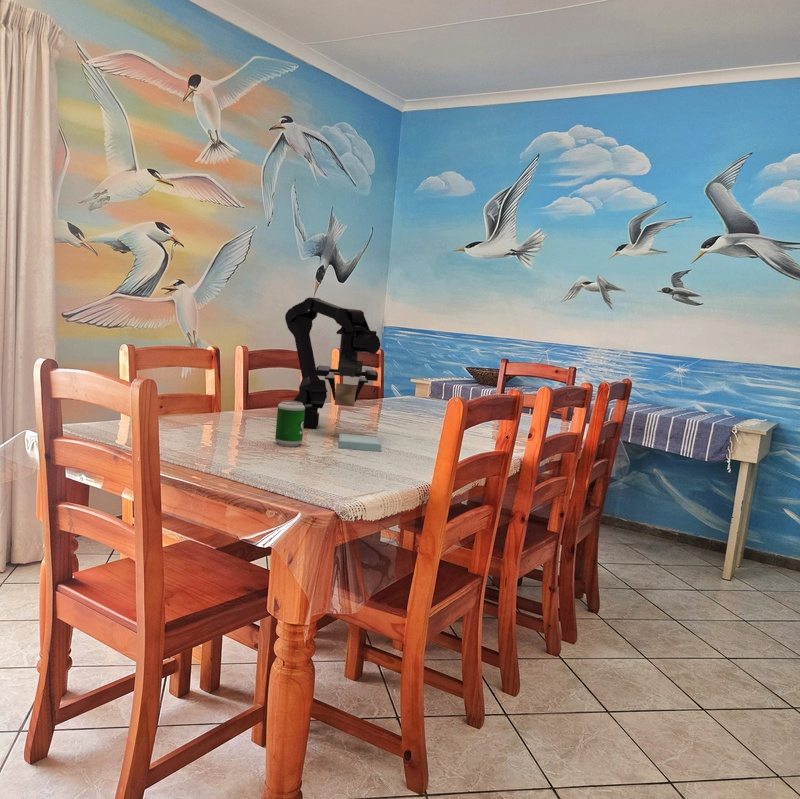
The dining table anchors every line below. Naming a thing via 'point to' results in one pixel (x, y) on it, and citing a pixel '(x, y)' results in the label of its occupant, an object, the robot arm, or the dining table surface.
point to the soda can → (290, 423)
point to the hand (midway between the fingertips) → (344, 401)
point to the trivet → (359, 442)
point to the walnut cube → (345, 394)
